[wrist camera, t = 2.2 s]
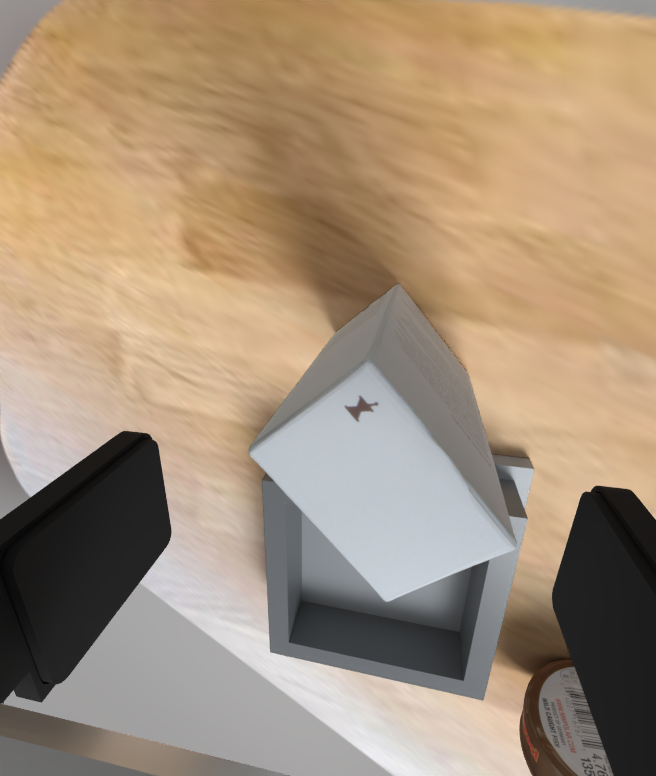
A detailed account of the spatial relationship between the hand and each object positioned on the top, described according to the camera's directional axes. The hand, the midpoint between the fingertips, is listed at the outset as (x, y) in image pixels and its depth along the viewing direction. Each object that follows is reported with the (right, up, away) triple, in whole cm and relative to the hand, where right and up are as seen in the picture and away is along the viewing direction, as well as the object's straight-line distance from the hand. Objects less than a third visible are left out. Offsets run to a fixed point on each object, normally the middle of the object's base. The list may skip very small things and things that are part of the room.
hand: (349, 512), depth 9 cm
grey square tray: (+3, -7, +16) cm, 18 cm away
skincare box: (+3, +4, +12) cm, 13 cm away
